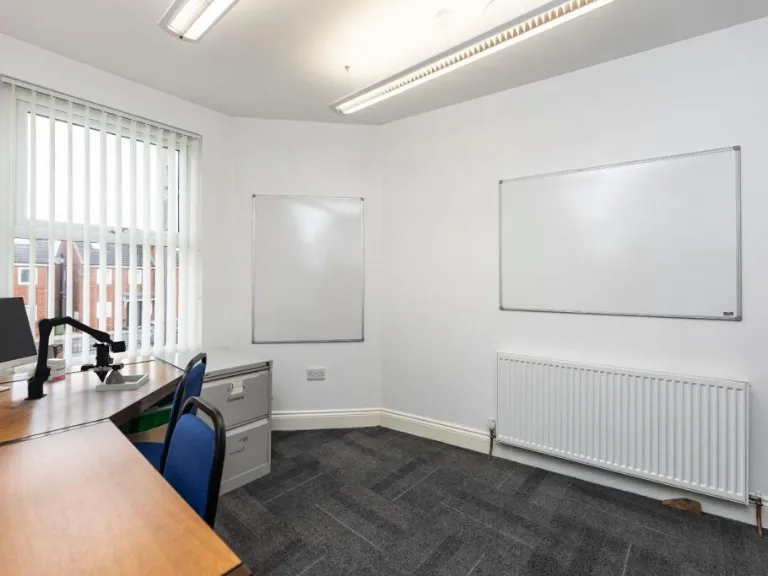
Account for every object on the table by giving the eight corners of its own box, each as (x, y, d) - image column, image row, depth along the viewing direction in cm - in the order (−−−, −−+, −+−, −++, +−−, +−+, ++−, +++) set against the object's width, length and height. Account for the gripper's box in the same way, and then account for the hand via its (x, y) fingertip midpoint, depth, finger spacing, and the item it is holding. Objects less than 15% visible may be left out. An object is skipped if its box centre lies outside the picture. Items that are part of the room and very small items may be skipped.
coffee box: (56, 372, 234) (55, 346, 233) (43, 372, 232) (42, 347, 231) (63, 368, 242) (63, 343, 242) (51, 368, 241) (51, 344, 240)
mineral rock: (107, 383, 213) (107, 365, 212) (129, 381, 217) (129, 364, 216) (100, 390, 201) (100, 371, 200) (124, 387, 205) (124, 369, 205)
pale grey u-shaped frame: (136, 388, 204) (136, 383, 204) (96, 391, 199) (95, 385, 198) (148, 378, 222) (148, 373, 222) (111, 381, 217) (111, 375, 217)
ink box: (66, 378, 220) (66, 358, 220) (58, 381, 215) (57, 360, 215) (53, 377, 221) (52, 358, 221) (44, 380, 216) (44, 360, 216)
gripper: (127, 351, 217) (127, 377, 217) (90, 351, 212) (89, 379, 212) (120, 355, 206) (119, 383, 207) (80, 356, 201) (79, 384, 202)
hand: (102, 382), depth 207 cm, fingers closed
